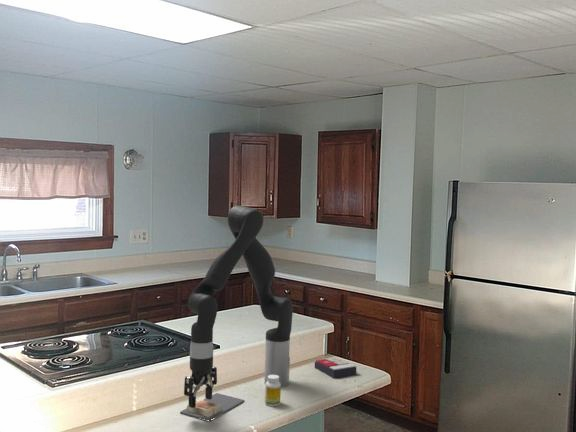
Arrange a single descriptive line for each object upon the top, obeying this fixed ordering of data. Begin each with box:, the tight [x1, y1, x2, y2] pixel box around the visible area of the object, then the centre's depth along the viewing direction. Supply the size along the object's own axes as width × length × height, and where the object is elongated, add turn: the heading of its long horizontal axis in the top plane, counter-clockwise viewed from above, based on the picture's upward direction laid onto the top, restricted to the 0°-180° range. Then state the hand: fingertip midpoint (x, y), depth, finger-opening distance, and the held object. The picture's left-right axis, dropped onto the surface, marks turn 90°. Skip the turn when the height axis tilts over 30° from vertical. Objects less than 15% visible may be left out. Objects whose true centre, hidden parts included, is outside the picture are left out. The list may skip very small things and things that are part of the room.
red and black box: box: [314, 357, 357, 380], centre depth 233 cm, size 11×4×15 cm
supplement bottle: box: [264, 375, 282, 407], centre depth 197 cm, size 5×5×10 cm
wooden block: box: [186, 399, 220, 417], centre depth 187 cm, size 9×2×6 cm
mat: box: [179, 392, 245, 422], centre depth 192 cm, size 20×12×1 cm, turn 151°
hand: (200, 402), depth 186 cm, fingers open, 8 cm apart
